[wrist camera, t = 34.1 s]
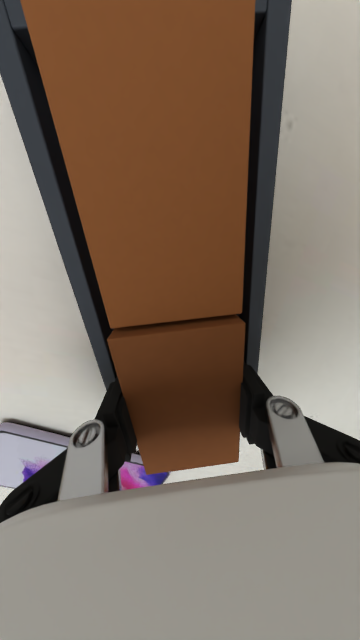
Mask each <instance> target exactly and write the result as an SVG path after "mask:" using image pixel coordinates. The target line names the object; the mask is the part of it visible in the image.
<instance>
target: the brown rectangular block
mask: <svg viewBox="0 0 360 640" xmlns="http://www.w3.org/2000/svg"><path fill="white" fill-rule="evenodd" d="M20 1H21V5H22V9H23V12H24V16H25V20H26V23H27V27H28V31H29V34H30V38H31V41H32V45H33V49H34V52H35V56H36V60H37V63H38V67H39V71H40V74H41V78H42V81H43V85H44V89H45V92H46V96H47V100H48V103H49V107H50V111H51V114H52V118H53V121H54V125H55V129H56V132H57V136H58V140H59V143H60V147H61V150H62V154H63V158H64V161H65V165H66V169H67V172H68V176H69V180H70V183H71V187H72V190H73V194H74V198H75V201H76V205H77V209H78V212H79V216H80V220H81V223H82V227H83V230H84V234H85V238H86V241H87V245H88V249H89V252H90V256H91V259H92V263H93V267H94V270H95V274H96V278H97V281H98V285H99V289H100V292H101V296H102V299H103V303H104V307H105V310H106V314H107V318H108V321H109V325H110V328H121V327H129V326H138V325H147V324H155V323H164V322H173V321H181V320H190V319H199V318H207V317H216V316H225V315H233V314H241V313H242V303H243V279H244V256H245V232H246V209H247V186H248V162H249V139H250V116H251V92H252V69H253V46H254V22H255V0H20Z"/></svg>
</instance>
